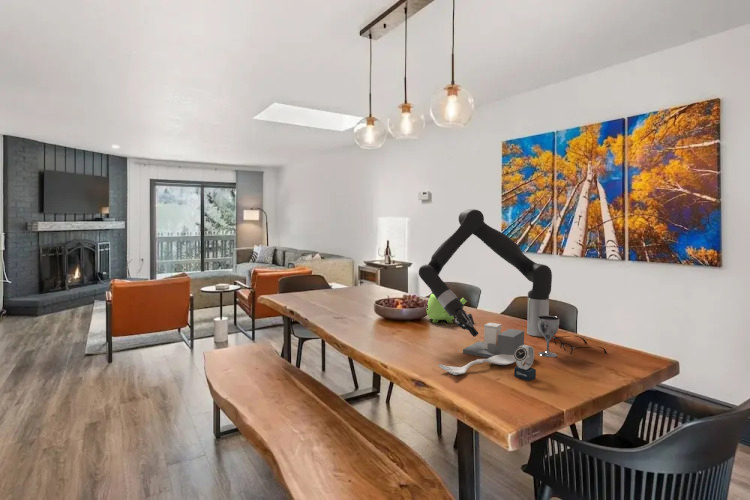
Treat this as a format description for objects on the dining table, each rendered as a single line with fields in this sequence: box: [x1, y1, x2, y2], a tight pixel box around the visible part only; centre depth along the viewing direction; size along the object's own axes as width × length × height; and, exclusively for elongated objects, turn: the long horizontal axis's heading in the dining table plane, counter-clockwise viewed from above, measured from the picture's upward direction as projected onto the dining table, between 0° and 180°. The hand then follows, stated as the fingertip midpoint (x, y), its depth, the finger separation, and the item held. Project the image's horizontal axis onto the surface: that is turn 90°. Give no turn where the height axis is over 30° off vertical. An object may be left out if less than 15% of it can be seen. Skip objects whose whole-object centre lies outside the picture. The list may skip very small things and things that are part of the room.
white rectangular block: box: [483, 322, 503, 349], centre depth 172 cm, size 5×5×10 cm
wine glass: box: [537, 315, 560, 358], centre depth 169 cm, size 8×8×15 cm
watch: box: [513, 344, 537, 382], centre depth 145 cm, size 6×8×11 cm
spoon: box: [438, 354, 516, 376], centre depth 154 cm, size 9×32×4 cm, turn 117°
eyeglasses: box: [553, 335, 607, 355], centre depth 177 cm, size 16×16×4 cm
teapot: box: [426, 293, 468, 323], centre depth 230 cm, size 25×22×16 cm
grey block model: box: [462, 328, 525, 359], centre depth 172 cm, size 20×15×10 cm
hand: (476, 335), depth 176 cm, fingers closed
